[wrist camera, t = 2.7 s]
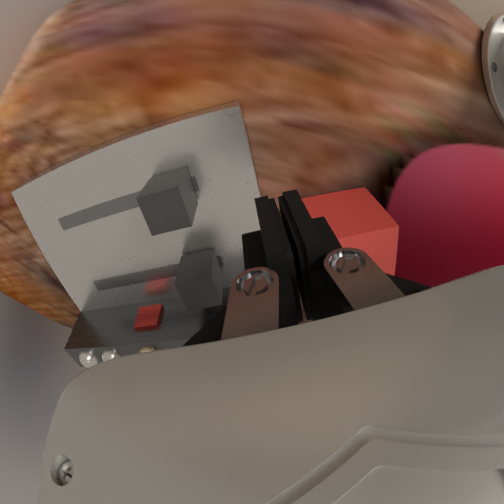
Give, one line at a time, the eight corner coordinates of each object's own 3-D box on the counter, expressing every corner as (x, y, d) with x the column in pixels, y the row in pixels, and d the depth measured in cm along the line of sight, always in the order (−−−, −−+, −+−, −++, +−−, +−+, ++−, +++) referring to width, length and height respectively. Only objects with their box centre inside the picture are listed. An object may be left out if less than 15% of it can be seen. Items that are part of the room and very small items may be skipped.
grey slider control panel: (238, 100, 18) (239, 121, 11) (278, 277, 26) (291, 355, 19) (31, 177, 19) (-30, 229, 12) (103, 307, 28) (77, 374, 21)
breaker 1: (186, 167, 17) (177, 186, 14) (198, 202, 18) (192, 226, 16) (150, 177, 17) (135, 198, 15) (163, 211, 18) (151, 235, 16)
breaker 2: (214, 249, 20) (211, 277, 18) (223, 275, 22) (222, 305, 19) (181, 256, 20) (174, 284, 18) (192, 281, 22) (187, 310, 19)
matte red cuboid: (364, 186, 21) (398, 226, 17) (365, 249, 25) (391, 296, 20) (289, 200, 22) (305, 245, 17) (299, 263, 25) (313, 314, 20)
